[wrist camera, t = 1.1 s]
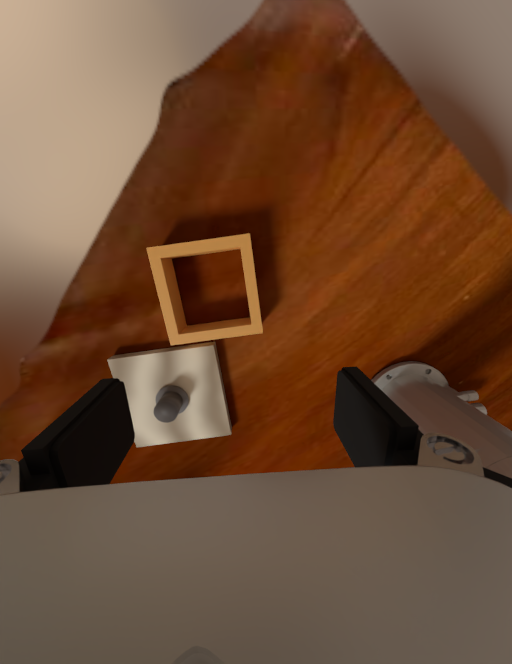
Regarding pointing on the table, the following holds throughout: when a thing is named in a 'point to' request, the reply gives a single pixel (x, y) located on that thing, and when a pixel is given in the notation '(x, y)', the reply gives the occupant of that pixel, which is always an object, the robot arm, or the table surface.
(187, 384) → the board
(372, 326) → the table surface
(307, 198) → the table surface
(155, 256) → the tan square frame
